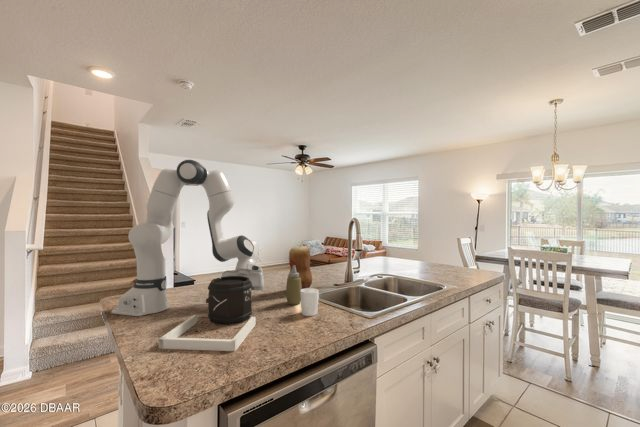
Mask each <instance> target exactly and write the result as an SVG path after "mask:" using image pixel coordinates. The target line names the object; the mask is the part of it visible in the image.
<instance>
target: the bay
mask: <svg viewBox="0 0 640 427" xmlns="http://www.w3.org/2000/svg"><path fill="white" fill-rule="evenodd" d="M256 318H257V317H256V316H250V318H249V319H248V320H247V322H245V324H244V325H243V326H242V328H241V329H240V330H238V332H237V334H236V335H234V336H233V338H232V339H231V338H227V339H226V338H224V339H223V338H202V337H201V338H199V337H197V338H196V337H195V338H194V337H181V336H182V335H183V334H184V333H186V332H187V331H188V330H190V329H191V328H192V327H193V326H195V325H196V324H198V315H196V314H193V315H192V316H190V317H188V318H187V319H185V320H184V321H183V322H181V323H180V324H178V325H177V326H175V327H174V328H172V329H171V330H169V331H168V332H166V333H165V334H164V335H163V336H161V337H160V338H159V339H158V349H159V350H160V349H161V350H163V349H164V350H189V351H190V350H192V351H193V350H194V351H217V352H218V351H221V352H236V351H237V350H238V348H239V347H240V346H241V344H242V343H243V341H244V340H245V339H246V338H247V337H248V335H249V334H250V333H251V331H252V330H253V328H254V327H255V326H256V324H257V323H256V322H257V319H256Z"/></svg>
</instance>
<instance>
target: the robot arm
mask: <svg viewBox="0 0 640 427" xmlns="http://www.w3.org/2000/svg"><path fill="white" fill-rule="evenodd" d="M184 186H192V187H193V186H202V187H203V189H204V191H205V193H206V196H207V200H208V206H209V207H208V210H207V213H206V216H207V223H208V228H209V234H210V240H211V246H212V247H211V248H212V249H211V250H212V255H213V258H215V260H216V261H219V262H222V263H224V262H226V261H227V262H228V261H229V260H233V259H238V260H237V262H236V266H235V269H234V270H226V271H223V272H222V273H221V277H226V276H244V277H248V278H249V279H250V281H251V282H252V287H251V291H262V290H263V289H264V286H265V279H264V271H263V268H262V267H261V266H259V265H256V263H257V261H258V256H259V244H258V243H257V242H256V241H255V240H252V239H249V238H248V237H246V236H244V235H242V234H240V235H237V236H234V237H230V238H227V239H225V238H224V233H223V229H222V219H223V218H224V217H225V215H227V214H228V213H229V212H230V211H231V210H232V208H233V207H234V204H235V196H234V194H233V190H232V188H231V186H230V183H229V181H228V179H227V177H226V176H225V174H224V172H223V171H221V170H207V169H206V167H205V166H204V165H203V164H202V163H200V162H199V161H196V160H193V159H184V160H182V161H181V162H179V163H178V165H177V166H176V169H173V168H164V169H162V170H161V171H160V172H159V174H158V175H157V177H156V179H155V180H154V182H153V186H152V187H151V192H150V194H149V197H148V199H147V203H146V206H145V207H146V219H145V222H140V223H138V224H136V225H135V226H133V227H132V228H131V229H130V230H129V232H128V241H129V243H130V244H131V246H132V248H133V252H134V254H135V259H136V278H135V279H133V280H131V281H130V282H131V283H130V284H132V285H133V286H132V287H131V288H130V289H129V290H128V291H126V292H124V293H123V294H122V295H121V296H120V297H119V299H118V303H117V306H116V307H114V308H113V309H112V310H111V313H110V314H114V315H115V314H117V315H124V316H133V317H142V316H144V315H145V316H146V315H150V314H151V315H152V314H156V313H160V312H163V311H166V310H168V309H169V308H170V304H169V300H168V296H167V276H166V258H165V256H164V253H163V250H162V244H165V243H166V242H167V241H168V240H169V239H170V238H171V234H172V230H171V229H172V222H173V216H174V211H175V209H176V206H177V202H178V200H179V197H180V192H181V190H182V188H183V187H184ZM221 277H220V278H221Z"/></svg>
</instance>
